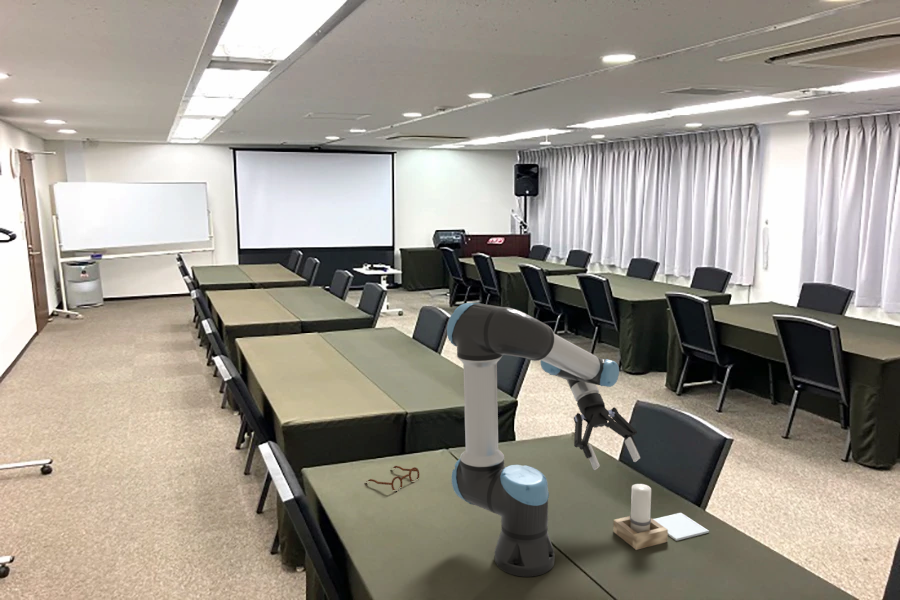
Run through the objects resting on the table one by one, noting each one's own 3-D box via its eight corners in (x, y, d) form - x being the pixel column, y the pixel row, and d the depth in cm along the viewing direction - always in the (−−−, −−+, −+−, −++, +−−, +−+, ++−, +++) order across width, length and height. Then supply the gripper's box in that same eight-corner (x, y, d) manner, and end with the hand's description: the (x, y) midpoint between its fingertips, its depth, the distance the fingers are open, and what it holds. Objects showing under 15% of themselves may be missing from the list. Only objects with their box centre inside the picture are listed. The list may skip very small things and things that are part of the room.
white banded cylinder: (637, 543, 170) (639, 494, 168) (625, 534, 175) (626, 485, 173) (654, 539, 172) (656, 490, 170) (641, 530, 177) (643, 482, 175)
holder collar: (636, 549, 168) (636, 537, 167) (613, 531, 177) (613, 519, 176) (667, 541, 171) (667, 529, 171) (643, 524, 180) (643, 512, 180)
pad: (676, 540, 172) (676, 538, 171) (649, 521, 182) (649, 519, 182) (708, 532, 175) (708, 530, 175) (680, 514, 186) (680, 512, 185)
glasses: (393, 495, 202) (393, 480, 201) (363, 484, 210) (363, 470, 209) (420, 480, 212) (420, 466, 211) (391, 471, 220) (390, 457, 219)
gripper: (617, 398, 200) (647, 461, 189) (547, 409, 191) (573, 476, 180) (628, 386, 194) (659, 451, 183) (556, 397, 186) (584, 466, 174)
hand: (617, 464), depth 181 cm, fingers open, 13 cm apart
